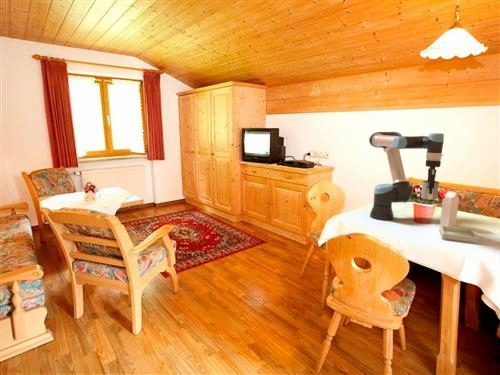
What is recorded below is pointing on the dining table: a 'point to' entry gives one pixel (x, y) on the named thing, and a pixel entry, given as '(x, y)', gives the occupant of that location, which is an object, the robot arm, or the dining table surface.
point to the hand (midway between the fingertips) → (428, 197)
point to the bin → (458, 234)
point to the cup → (425, 190)
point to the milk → (449, 209)
